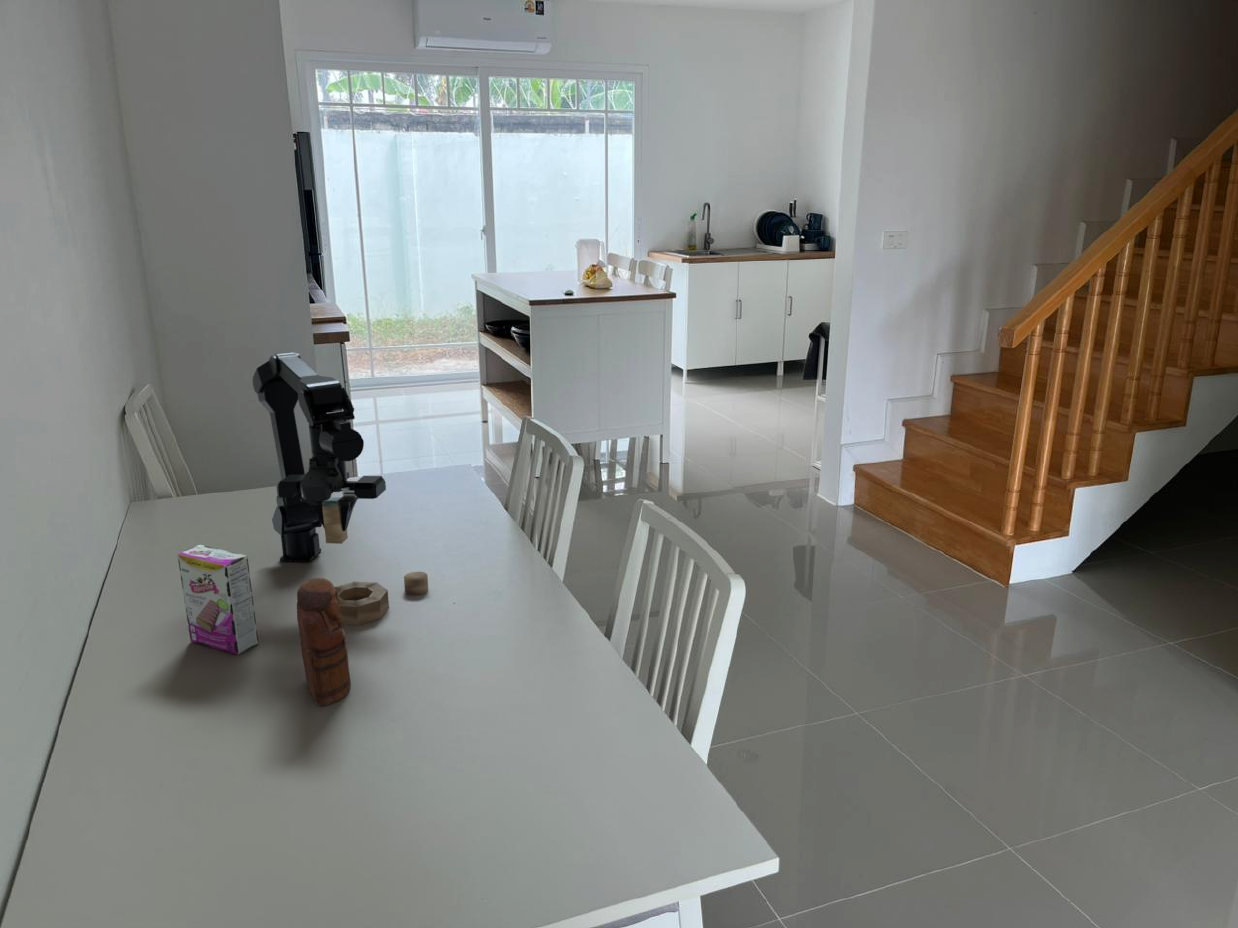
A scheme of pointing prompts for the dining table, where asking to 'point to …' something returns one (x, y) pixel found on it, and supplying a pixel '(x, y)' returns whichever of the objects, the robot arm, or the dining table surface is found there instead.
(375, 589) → the wooden octagonal ring
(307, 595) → the wooden figurine
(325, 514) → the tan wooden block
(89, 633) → the dining table surface
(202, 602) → the candy bar box
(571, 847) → the dining table surface
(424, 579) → the loose bead
